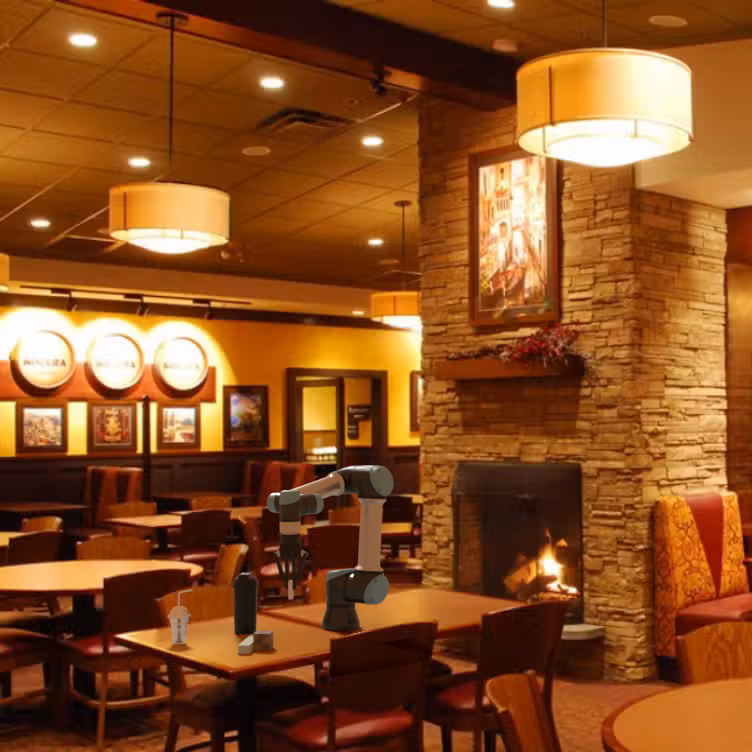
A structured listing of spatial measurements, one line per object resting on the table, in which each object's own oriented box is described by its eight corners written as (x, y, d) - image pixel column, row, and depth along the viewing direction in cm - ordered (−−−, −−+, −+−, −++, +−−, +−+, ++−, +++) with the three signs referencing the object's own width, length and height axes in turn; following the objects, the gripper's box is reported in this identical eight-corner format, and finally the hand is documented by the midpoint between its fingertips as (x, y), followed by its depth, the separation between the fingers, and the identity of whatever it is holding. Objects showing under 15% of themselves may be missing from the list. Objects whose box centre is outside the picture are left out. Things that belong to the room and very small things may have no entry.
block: (273, 647, 406) (273, 631, 406) (269, 650, 400) (269, 633, 401) (256, 647, 407) (256, 630, 407) (253, 650, 401) (253, 633, 401)
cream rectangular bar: (260, 643, 414) (260, 635, 414) (249, 654, 394) (249, 645, 394) (250, 643, 414) (250, 635, 414) (238, 653, 394) (238, 645, 395)
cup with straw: (176, 640, 421) (177, 587, 422) (196, 642, 417) (196, 588, 418) (162, 644, 413) (162, 589, 414) (182, 646, 409) (182, 591, 410)
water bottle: (260, 630, 441) (260, 571, 442) (255, 635, 431) (255, 574, 432) (235, 630, 442) (235, 571, 443) (229, 634, 432) (229, 574, 433)
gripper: (309, 531, 408) (310, 597, 407) (274, 532, 409) (275, 597, 408) (306, 534, 400) (307, 600, 399) (270, 534, 402) (271, 600, 401)
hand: (291, 598), depth 404 cm, fingers closed
